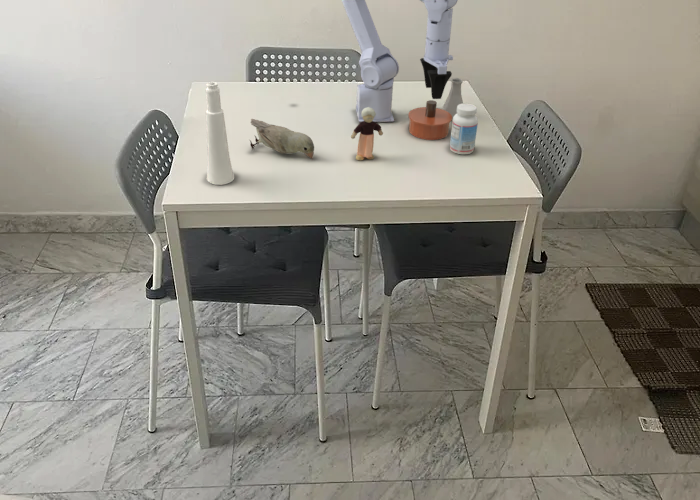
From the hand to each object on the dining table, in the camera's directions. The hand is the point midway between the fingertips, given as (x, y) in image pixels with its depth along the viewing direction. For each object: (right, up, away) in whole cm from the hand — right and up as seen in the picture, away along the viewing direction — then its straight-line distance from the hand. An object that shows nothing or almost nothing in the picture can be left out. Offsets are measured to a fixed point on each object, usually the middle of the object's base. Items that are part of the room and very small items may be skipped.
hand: (433, 92), depth 167 cm
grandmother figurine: (-17, -17, -7) cm, 25 cm away
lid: (0, -5, +4) cm, 7 cm away
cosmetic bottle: (-50, -24, -18) cm, 58 cm away
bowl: (0, -9, +6) cm, 11 cm away
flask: (+7, -3, +15) cm, 17 cm away
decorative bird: (-37, -16, -7) cm, 41 cm away
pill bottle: (+7, -15, -2) cm, 16 cm away
